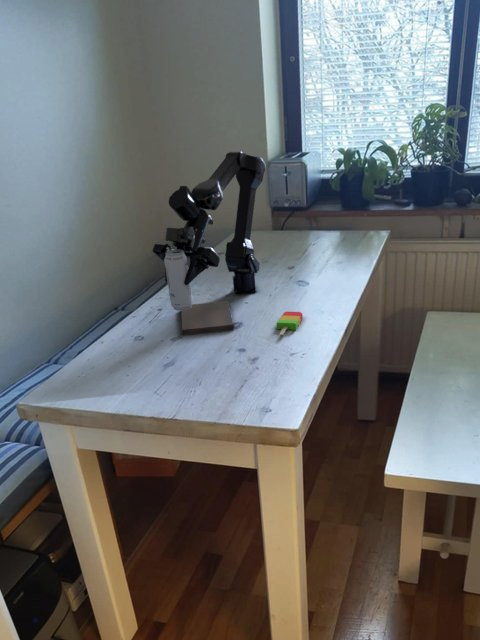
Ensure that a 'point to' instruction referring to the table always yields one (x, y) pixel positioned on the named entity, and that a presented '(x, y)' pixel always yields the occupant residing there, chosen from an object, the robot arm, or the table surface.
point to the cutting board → (207, 318)
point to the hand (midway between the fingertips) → (175, 283)
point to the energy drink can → (178, 280)
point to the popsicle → (289, 321)
